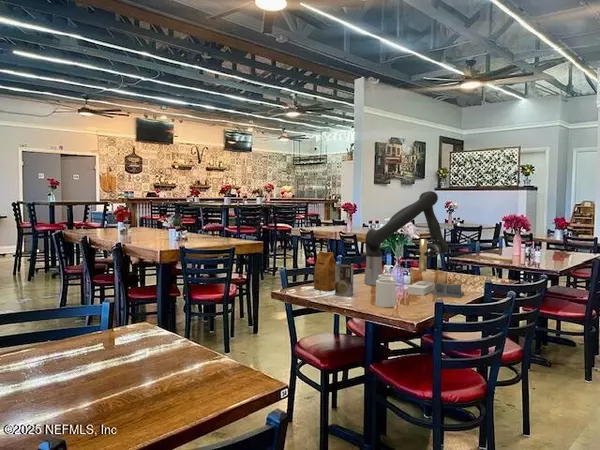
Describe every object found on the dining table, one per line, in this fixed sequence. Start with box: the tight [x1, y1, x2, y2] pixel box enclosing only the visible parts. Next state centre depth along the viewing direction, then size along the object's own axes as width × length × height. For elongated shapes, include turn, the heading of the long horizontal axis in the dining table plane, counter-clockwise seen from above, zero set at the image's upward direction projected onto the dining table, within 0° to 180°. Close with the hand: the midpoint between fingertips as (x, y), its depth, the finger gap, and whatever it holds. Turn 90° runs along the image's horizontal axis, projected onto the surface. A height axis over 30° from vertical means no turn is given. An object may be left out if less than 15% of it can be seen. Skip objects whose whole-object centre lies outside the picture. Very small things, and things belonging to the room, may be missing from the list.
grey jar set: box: [374, 274, 397, 308], centre depth 233 cm, size 25×10×12 cm, turn 168°
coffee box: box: [334, 264, 354, 297], centre depth 248 cm, size 9×6×16 cm
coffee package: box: [313, 250, 338, 292], centre depth 262 cm, size 10×12×22 cm
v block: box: [431, 281, 465, 299], centre depth 252 cm, size 10×15×6 cm, turn 57°
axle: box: [418, 238, 428, 273], centre depth 258 cm, size 4×4×18 cm
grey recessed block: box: [407, 280, 436, 296], centre depth 259 cm, size 20×9×4 cm, turn 147°
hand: (421, 253), depth 256 cm, fingers closed on axle, 4 cm apart
